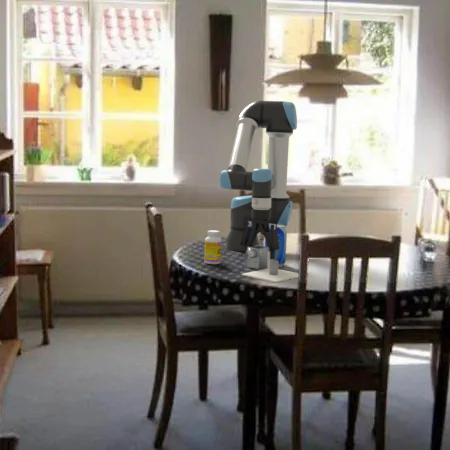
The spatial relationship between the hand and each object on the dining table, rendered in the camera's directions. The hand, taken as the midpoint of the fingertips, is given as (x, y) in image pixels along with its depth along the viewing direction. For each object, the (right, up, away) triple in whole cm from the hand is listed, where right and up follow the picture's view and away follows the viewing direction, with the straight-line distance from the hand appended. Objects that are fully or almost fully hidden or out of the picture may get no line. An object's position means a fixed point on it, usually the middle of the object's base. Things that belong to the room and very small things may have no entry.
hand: (260, 265), depth 309 cm
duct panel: (+4, -3, -14) cm, 15 cm away
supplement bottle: (-19, +1, +6) cm, 20 cm away
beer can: (+6, 0, +6) cm, 8 cm away
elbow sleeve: (-2, -1, 0) cm, 2 cm away
